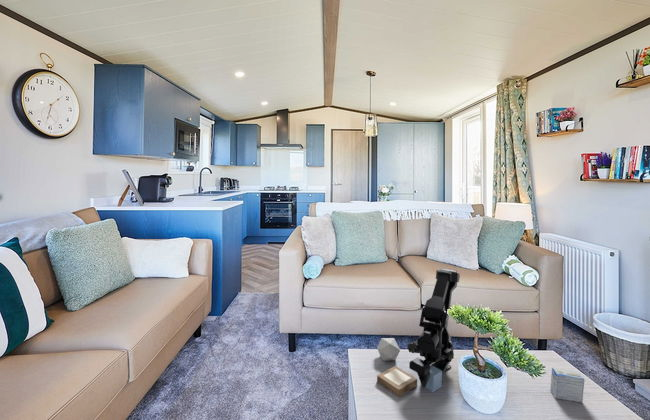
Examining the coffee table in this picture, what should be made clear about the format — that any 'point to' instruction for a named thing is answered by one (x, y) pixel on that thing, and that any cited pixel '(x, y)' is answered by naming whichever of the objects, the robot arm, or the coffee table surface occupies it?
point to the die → (388, 349)
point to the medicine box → (567, 385)
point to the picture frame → (397, 380)
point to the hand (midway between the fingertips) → (431, 382)
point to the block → (434, 379)
